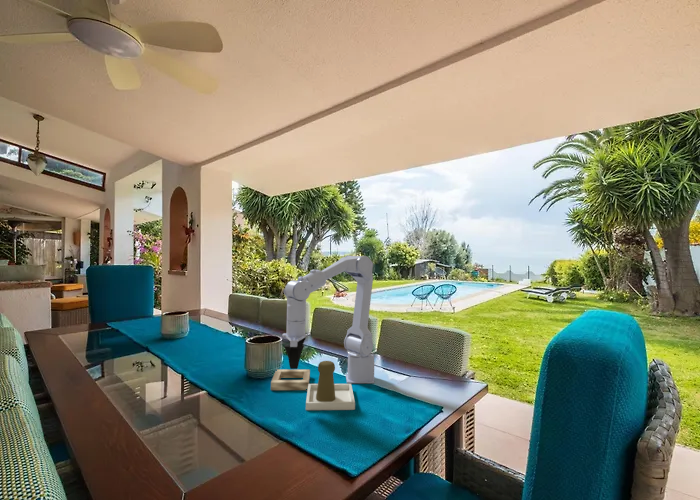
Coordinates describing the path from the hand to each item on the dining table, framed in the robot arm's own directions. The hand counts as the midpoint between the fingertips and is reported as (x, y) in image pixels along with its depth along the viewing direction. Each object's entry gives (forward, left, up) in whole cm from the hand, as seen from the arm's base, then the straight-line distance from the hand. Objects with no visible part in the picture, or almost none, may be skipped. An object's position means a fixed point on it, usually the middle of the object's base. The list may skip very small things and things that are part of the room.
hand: (295, 364), depth 103 cm
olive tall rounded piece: (-10, +1, -10) cm, 14 cm away
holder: (+2, -12, -10) cm, 16 cm away
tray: (-11, +1, -10) cm, 15 cm away
